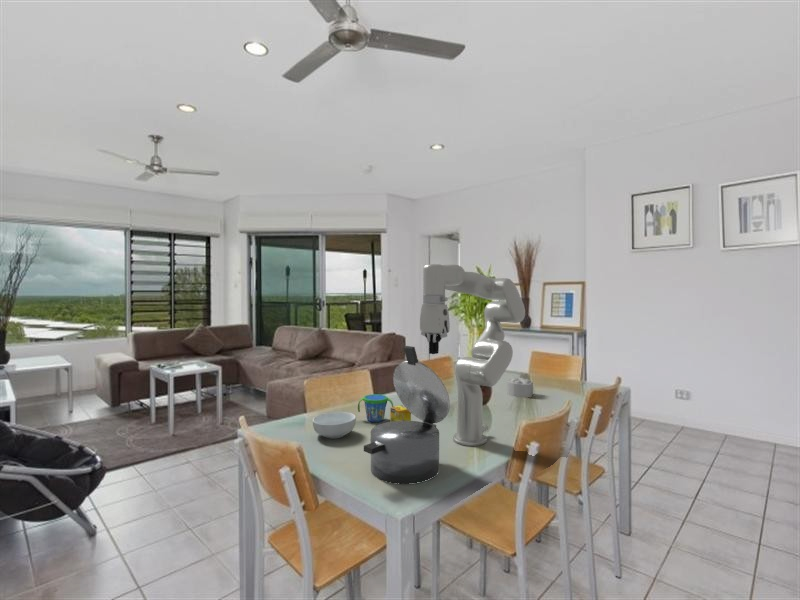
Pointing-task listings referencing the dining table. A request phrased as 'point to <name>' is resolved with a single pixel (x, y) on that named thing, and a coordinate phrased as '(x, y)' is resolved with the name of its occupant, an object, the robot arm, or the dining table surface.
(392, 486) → the dining table surface
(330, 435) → the cereal bowl
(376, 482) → the dining table surface
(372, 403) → the snack cup
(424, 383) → the lid
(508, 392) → the lumpy-topped squat cylinder
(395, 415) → the supplement box
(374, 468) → the cooker
